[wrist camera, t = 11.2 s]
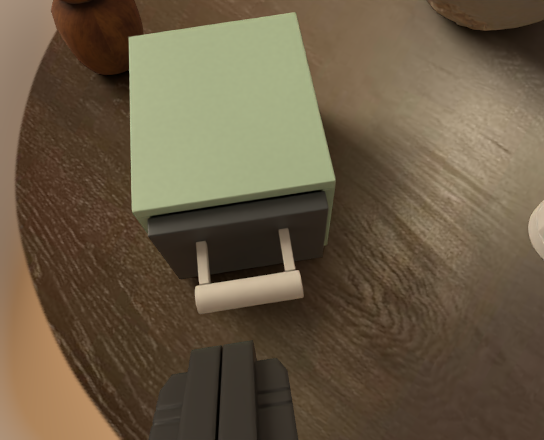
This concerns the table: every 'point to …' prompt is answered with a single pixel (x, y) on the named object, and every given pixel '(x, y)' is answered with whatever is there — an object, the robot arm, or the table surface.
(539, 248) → the cup
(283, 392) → the robot arm
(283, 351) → the table surface
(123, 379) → the table surface
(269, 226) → the fryer drawer
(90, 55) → the wooden figurine
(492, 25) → the ceramic bowl
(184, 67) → the green drawer cabinet
